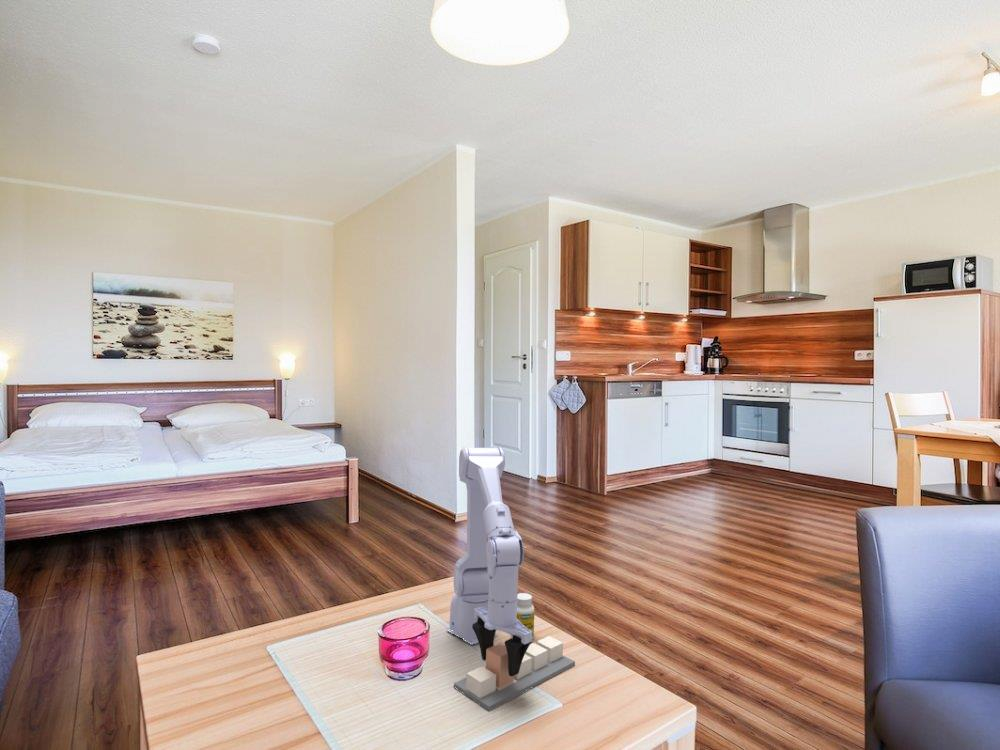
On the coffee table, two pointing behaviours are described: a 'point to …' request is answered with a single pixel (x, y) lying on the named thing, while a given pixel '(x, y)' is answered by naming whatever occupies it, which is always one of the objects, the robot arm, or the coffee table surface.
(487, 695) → the block set board
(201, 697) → the coffee table surface
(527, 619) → the supplement bottle
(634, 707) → the coffee table surface
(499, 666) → the terracotta block
